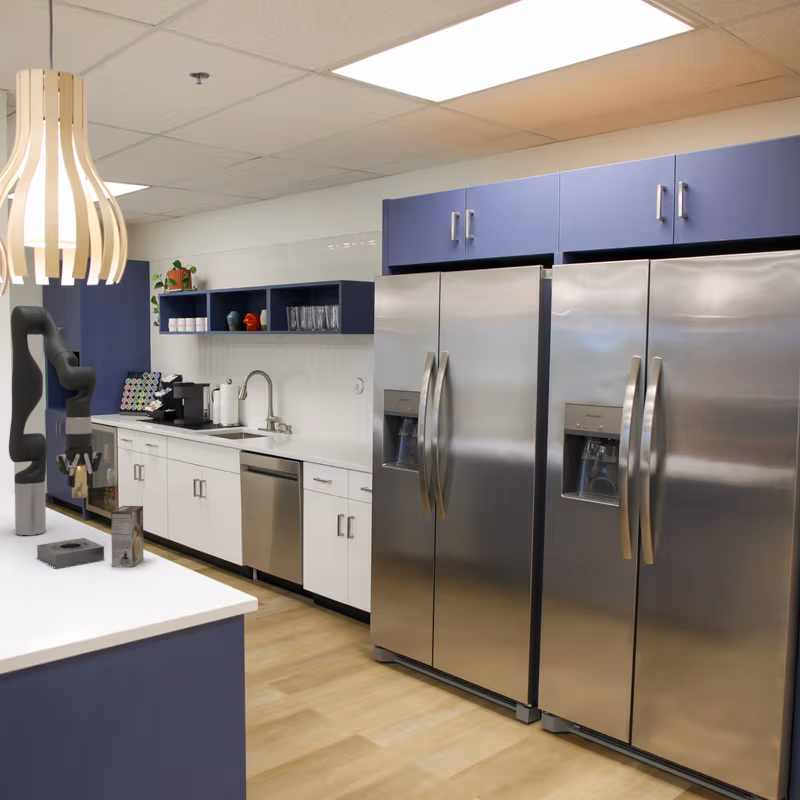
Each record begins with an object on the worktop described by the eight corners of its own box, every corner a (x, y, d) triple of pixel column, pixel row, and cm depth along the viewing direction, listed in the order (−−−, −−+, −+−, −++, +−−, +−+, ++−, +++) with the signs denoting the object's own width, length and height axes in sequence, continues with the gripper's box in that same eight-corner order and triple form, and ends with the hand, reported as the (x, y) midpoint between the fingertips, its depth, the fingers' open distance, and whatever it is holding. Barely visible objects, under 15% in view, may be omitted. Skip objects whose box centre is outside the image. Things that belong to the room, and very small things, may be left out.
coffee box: (122, 558, 238) (122, 505, 237) (144, 558, 238) (143, 505, 237) (111, 566, 229) (110, 511, 228) (133, 567, 229) (132, 512, 228)
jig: (37, 558, 236) (37, 545, 235) (84, 550, 245) (84, 537, 245) (56, 568, 226) (55, 554, 225) (104, 560, 235) (104, 546, 235)
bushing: (69, 496, 247) (69, 464, 246) (83, 495, 250) (83, 463, 249) (75, 498, 243) (75, 466, 243) (89, 497, 247) (89, 464, 246)
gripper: (96, 429, 253) (96, 482, 254) (50, 431, 243) (51, 487, 244) (106, 431, 248) (107, 485, 249) (60, 434, 237) (61, 491, 239)
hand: (79, 486), depth 246 cm, fingers closed on bushing, 4 cm apart
